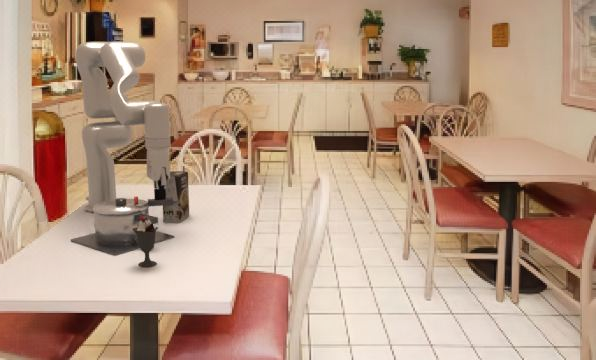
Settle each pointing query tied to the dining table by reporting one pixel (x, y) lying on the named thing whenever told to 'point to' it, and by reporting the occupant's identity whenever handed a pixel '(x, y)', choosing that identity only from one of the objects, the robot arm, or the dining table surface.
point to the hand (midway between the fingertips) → (160, 201)
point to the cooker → (117, 233)
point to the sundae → (146, 239)
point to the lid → (128, 205)
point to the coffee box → (177, 197)
